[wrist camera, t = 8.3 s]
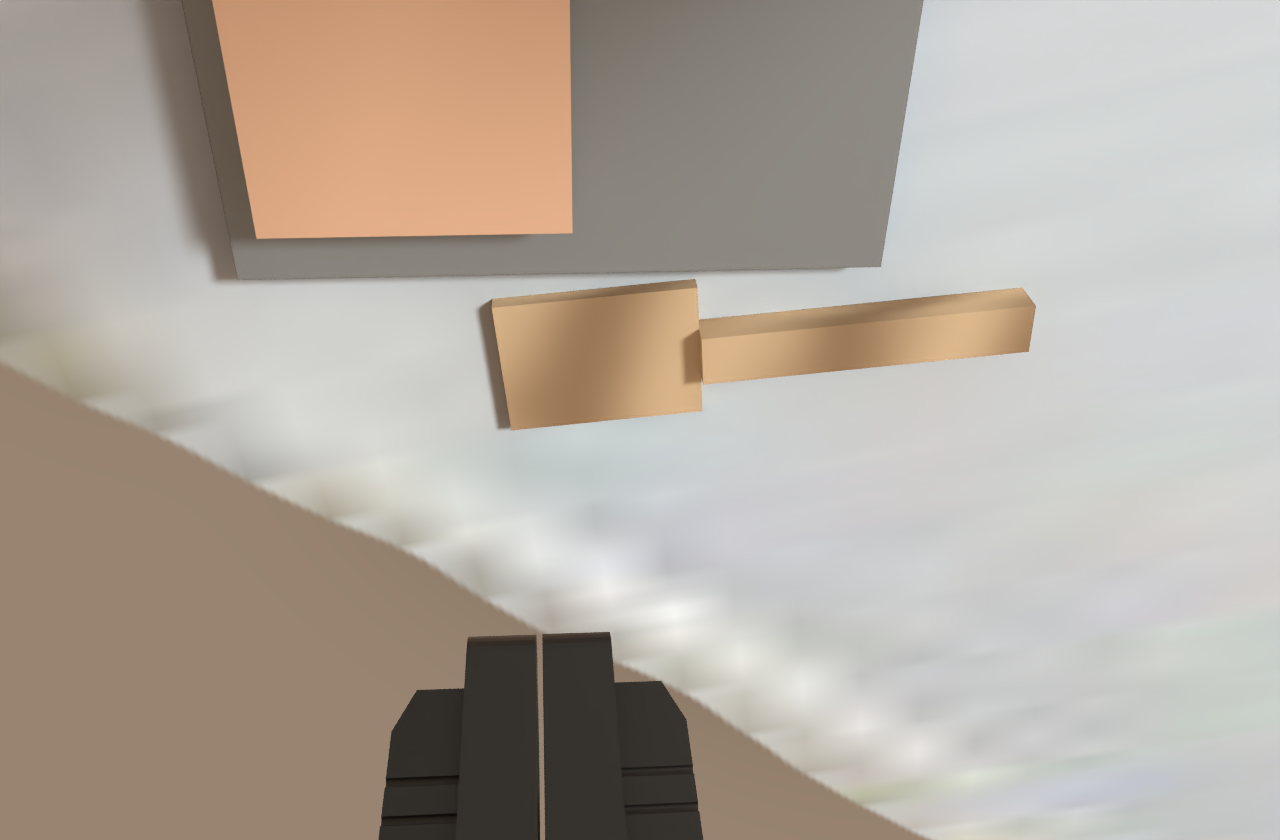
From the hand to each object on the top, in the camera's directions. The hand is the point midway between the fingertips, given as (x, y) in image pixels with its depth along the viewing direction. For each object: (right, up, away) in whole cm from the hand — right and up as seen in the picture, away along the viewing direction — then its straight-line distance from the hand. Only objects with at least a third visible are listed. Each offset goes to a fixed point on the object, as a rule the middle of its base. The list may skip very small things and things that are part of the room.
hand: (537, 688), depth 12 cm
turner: (+5, +5, +23) cm, 24 cm away
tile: (-1, +11, +16) cm, 19 cm away
